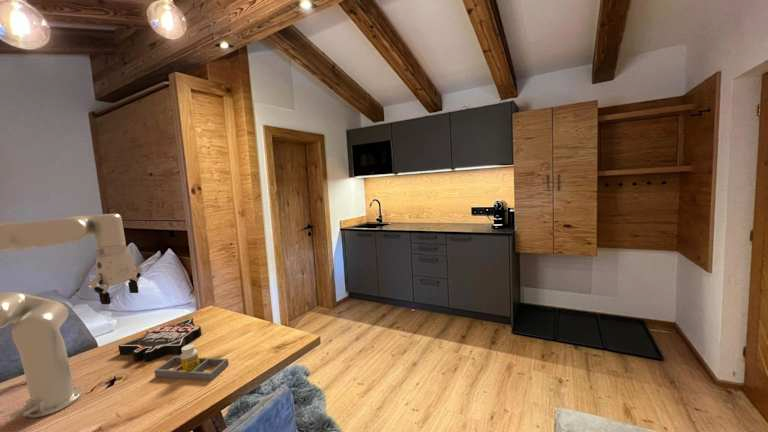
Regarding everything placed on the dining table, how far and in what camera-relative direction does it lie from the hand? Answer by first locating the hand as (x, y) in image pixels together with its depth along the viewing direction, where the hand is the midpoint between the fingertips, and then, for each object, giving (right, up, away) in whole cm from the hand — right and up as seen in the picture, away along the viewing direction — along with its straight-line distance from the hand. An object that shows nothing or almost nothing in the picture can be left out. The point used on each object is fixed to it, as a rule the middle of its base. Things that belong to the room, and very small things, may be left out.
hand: (120, 298), depth 108 cm
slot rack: (+21, -28, +6) cm, 36 cm away
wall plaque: (-4, -28, +29) cm, 40 cm away
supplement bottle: (+21, -29, +6) cm, 36 cm away
